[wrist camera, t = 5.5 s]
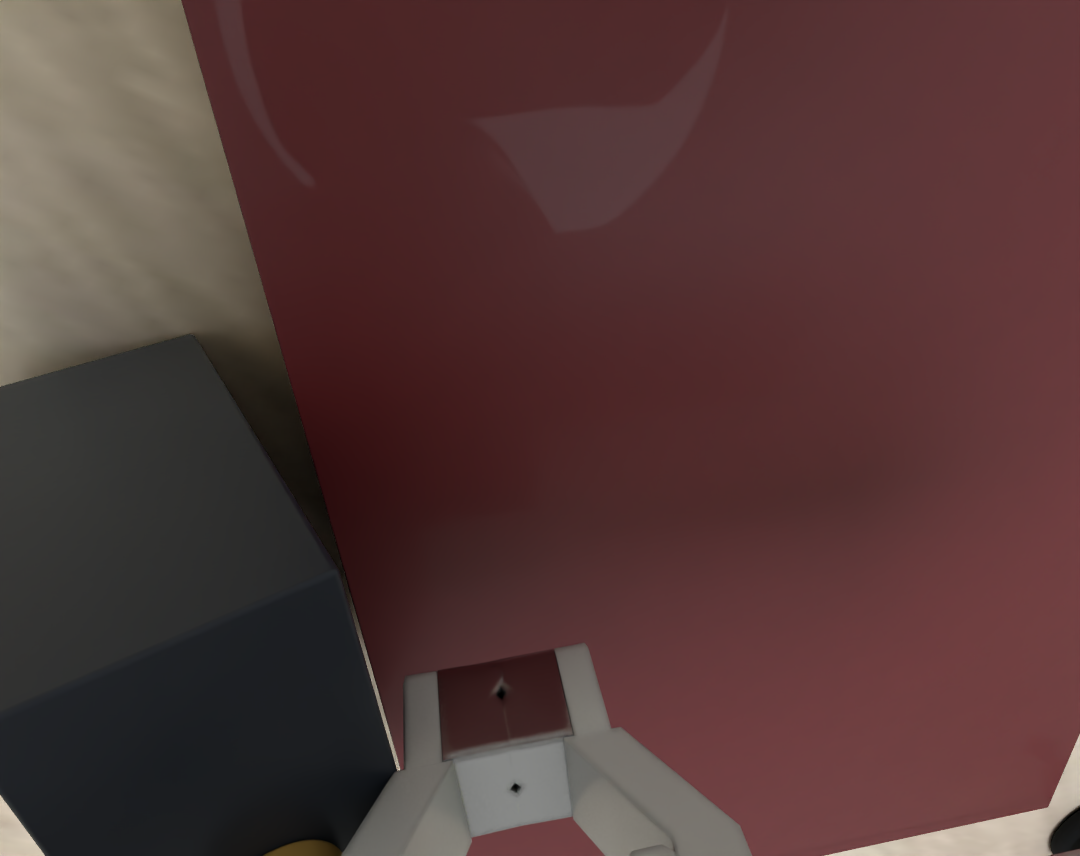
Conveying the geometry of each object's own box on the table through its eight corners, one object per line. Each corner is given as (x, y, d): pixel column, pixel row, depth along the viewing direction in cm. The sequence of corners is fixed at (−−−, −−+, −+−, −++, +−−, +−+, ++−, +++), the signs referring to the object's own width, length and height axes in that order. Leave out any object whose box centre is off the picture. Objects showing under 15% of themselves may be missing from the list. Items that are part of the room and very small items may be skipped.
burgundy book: (173, -221, 10) (99, -284, 8) (1310, -303, 12) (1563, -380, 9) (442, 828, 23) (447, 936, 20) (979, 720, 24) (1048, 807, 22)
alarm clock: (46, 341, 14) (-508, 737, 7) (438, 318, 14) (271, 730, 6) (193, 662, 19) (-55, 1106, 12) (493, 657, 18) (432, 1124, 11)
